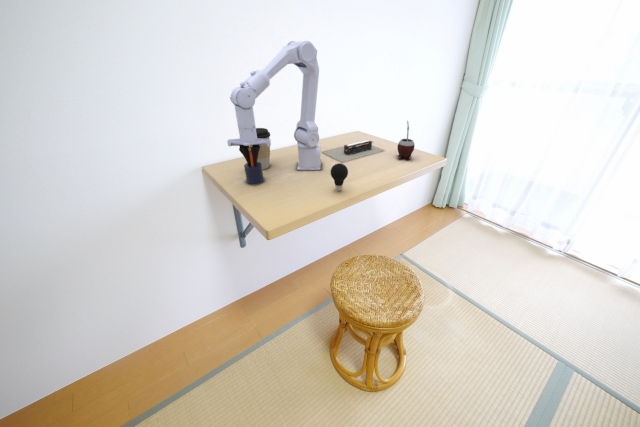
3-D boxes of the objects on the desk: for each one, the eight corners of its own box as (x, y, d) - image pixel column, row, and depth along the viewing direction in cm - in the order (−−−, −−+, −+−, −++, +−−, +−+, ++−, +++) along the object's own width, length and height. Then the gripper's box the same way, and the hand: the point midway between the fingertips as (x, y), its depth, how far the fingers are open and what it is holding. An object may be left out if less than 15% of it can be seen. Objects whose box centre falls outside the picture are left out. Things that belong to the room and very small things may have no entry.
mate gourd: (405, 162, 113) (411, 126, 105) (391, 156, 118) (396, 123, 110) (415, 158, 116) (422, 124, 108) (401, 153, 122) (407, 120, 114)
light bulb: (334, 196, 87) (335, 168, 82) (327, 188, 92) (327, 162, 87) (350, 192, 89) (351, 165, 84) (342, 185, 94) (343, 159, 88)
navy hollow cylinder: (264, 177, 100) (262, 161, 97) (261, 184, 95) (259, 168, 92) (249, 177, 100) (246, 161, 97) (245, 184, 95) (242, 168, 92)
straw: (256, 170, 96) (252, 146, 91) (255, 172, 95) (251, 148, 90) (252, 170, 96) (248, 146, 91) (251, 172, 95) (247, 148, 90)
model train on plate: (382, 150, 125) (383, 142, 123) (341, 162, 113) (342, 152, 111) (362, 143, 135) (363, 134, 133) (323, 152, 123) (323, 143, 121)
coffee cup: (269, 171, 105) (264, 134, 97) (247, 170, 106) (241, 133, 98) (276, 163, 113) (273, 128, 104) (256, 161, 114) (251, 126, 106)
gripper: (221, 130, 84) (229, 169, 91) (266, 130, 83) (270, 169, 91) (228, 124, 90) (235, 162, 97) (270, 124, 89) (274, 161, 97)
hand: (252, 165), depth 94 cm, fingers closed on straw, 1 cm apart
